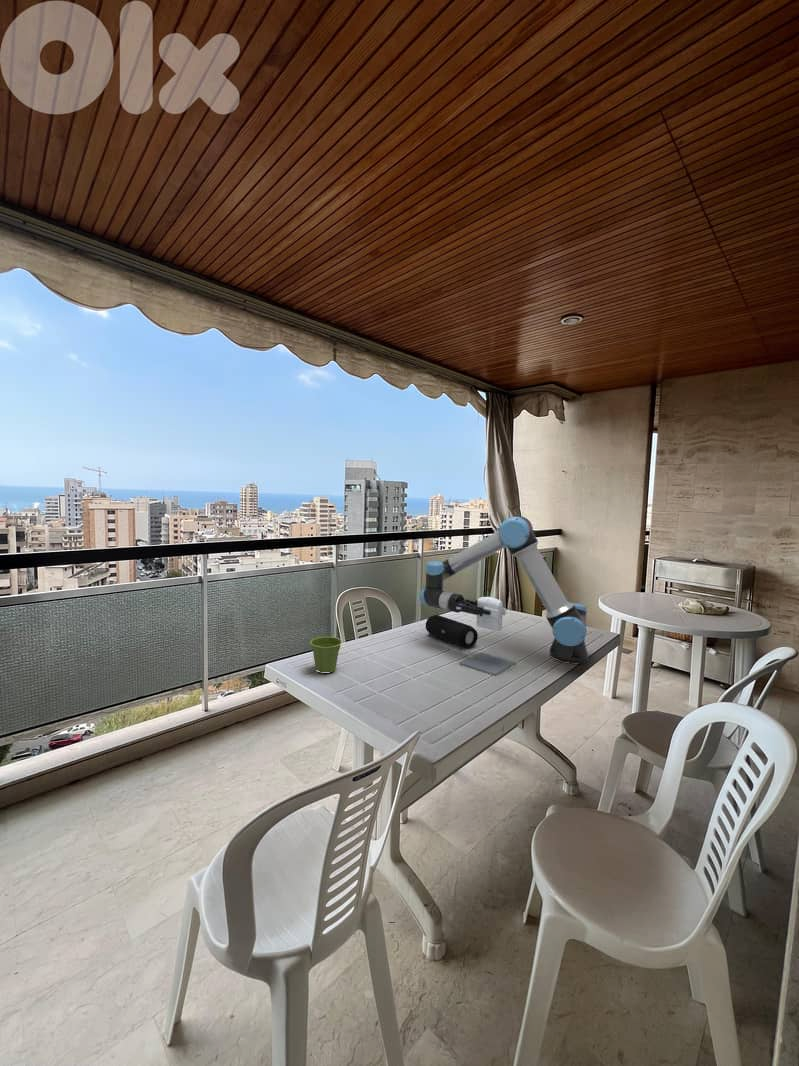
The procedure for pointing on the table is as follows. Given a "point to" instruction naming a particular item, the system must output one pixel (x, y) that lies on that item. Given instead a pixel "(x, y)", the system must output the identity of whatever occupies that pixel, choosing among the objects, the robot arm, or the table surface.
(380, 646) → the table surface
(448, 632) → the portable speaker
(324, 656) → the plant pot
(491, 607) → the photo printer
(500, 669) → the rubber mat
